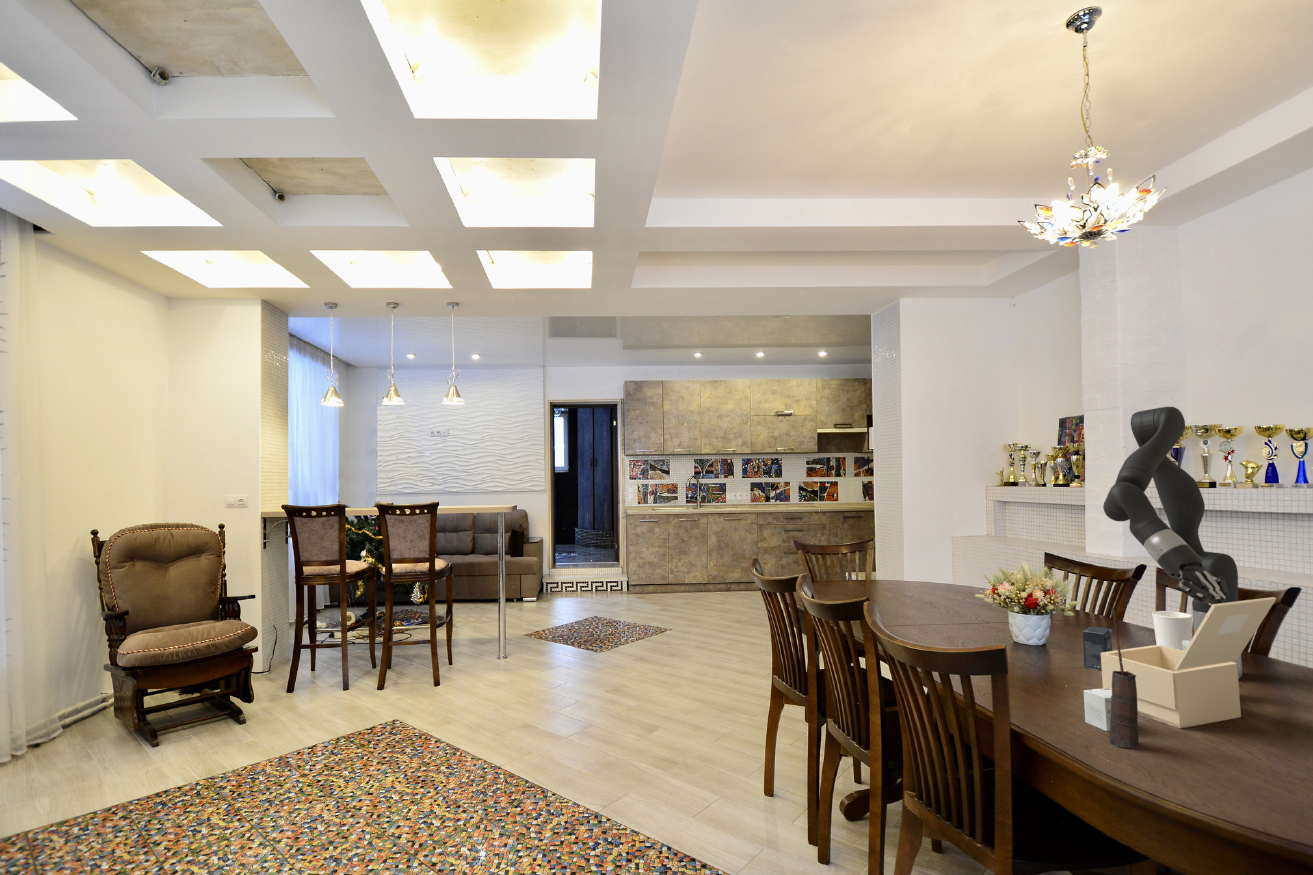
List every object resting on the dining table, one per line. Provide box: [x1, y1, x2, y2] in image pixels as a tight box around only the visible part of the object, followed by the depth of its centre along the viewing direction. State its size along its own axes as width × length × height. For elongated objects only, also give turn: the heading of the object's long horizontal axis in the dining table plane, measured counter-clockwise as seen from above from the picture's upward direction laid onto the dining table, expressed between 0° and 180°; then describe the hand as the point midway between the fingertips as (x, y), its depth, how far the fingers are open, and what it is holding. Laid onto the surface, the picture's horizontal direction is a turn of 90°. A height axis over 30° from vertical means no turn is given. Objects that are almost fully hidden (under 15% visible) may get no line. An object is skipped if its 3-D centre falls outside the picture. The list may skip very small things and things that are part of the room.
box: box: [1082, 626, 1113, 671], centre depth 197 cm, size 8×6×11 cm
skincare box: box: [1083, 687, 1112, 732], centre depth 153 cm, size 6×6×7 cm
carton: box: [1101, 644, 1242, 730], centre depth 162 cm, size 20×18×12 cm
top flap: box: [1174, 596, 1277, 670], centre depth 149 cm, size 19×18×1 cm
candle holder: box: [1151, 610, 1193, 650], centre depth 207 cm, size 10×10×12 cm
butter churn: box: [1108, 606, 1140, 749], centre depth 142 cm, size 9×10×28 cm
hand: (1232, 616), depth 148 cm, fingers closed
